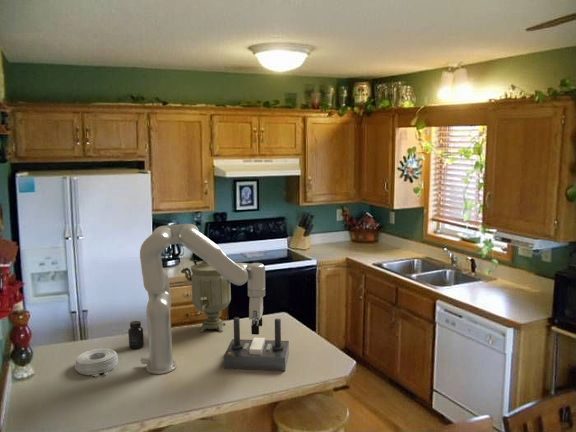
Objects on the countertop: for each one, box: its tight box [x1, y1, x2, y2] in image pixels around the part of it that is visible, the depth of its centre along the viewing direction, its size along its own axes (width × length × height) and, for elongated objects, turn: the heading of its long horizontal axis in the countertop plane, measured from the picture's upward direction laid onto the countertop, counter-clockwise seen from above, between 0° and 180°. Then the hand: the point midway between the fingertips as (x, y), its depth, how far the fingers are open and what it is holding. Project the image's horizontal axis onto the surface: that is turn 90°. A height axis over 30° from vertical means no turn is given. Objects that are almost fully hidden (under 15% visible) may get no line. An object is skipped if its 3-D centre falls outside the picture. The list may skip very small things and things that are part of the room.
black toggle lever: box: [272, 318, 283, 351], centre depth 231 cm, size 5×5×13 cm
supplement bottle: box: [127, 320, 145, 350], centre depth 249 cm, size 7×7×12 cm
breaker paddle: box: [249, 337, 266, 355], centre depth 233 cm, size 5×13×7 cm, turn 175°
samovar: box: [180, 259, 232, 333], centre depth 268 cm, size 30×26×40 cm
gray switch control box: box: [223, 338, 290, 372], centre depth 233 cm, size 26×18×7 cm
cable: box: [74, 348, 119, 378], centre depth 228 cm, size 18×18×6 cm
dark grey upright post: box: [232, 317, 243, 350], centre depth 232 cm, size 5×5×13 cm
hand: (256, 330), depth 231 cm, fingers open, 9 cm apart
